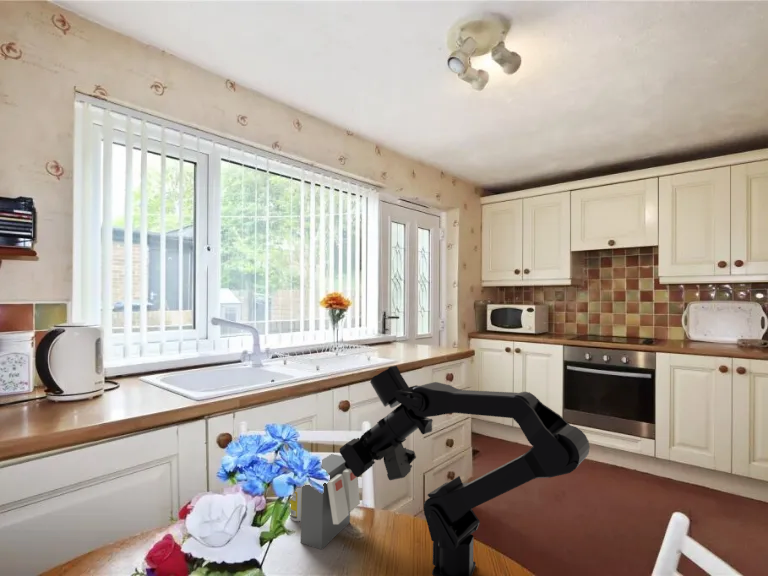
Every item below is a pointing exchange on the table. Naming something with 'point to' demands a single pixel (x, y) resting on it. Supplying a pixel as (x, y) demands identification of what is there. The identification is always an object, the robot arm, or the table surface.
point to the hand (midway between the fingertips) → (346, 466)
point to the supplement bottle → (296, 505)
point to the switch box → (321, 509)
